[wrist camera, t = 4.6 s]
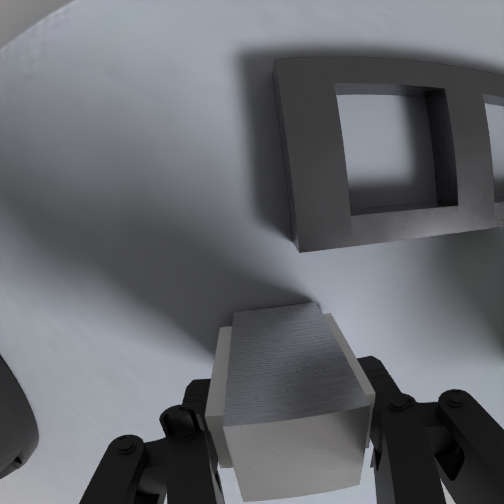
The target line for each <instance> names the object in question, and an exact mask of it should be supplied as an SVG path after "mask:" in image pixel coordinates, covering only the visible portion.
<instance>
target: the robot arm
mask: <svg viewBox="0 0 504 504" xmlns="http://www.w3.org/2000/svg"><path fill="white" fill-rule="evenodd" d="M323 316H324V318H325V319H326V321H327V323H328V325H329V327H330V329H331V330H332V332H333V334H334V336H335V338H336V340H337V342H338V344H339V345H340V347H341V349H342V351H343V353H344V355H345V357H346V359H347V361H348V362H349V364H350V366H351V368H352V370H353V372H354V374H355V376H356V378H357V380H358V382H359V384H360V385H361V387H362V389H363V391H364V393H365V395H366V397H367V399H368V401H369V403H370V415H369V423H368V431H367V439H366V446H365V448H369V443H370V439H371V441H372V443H373V446H374V449H373V454H372V460H371V466H370V468H371V467H373V465H374V475H375V486H376V497H377V504H446V501H445V496H444V492H443V488H442V484H441V481H442V482H443V484H444V485H445V487H446V489H447V490H448V492H449V493H450V495H451V496H452V498H453V500H454V502H455V503H456V504H504V429H503V428H502V427H501V426H500V425H499V424H498V423H497V422H496V421H495V420H494V419H493V418H492V417H491V416H490V415H489V414H488V413H487V412H486V410H485V409H484V408H483V407H482V406H481V405H480V404H479V403H478V402H477V401H476V400H475V399H474V398H473V397H472V396H471V395H470V394H469V393H467V392H466V391H463V390H458V389H452V390H448V391H446V392H444V393H442V394H441V396H440V397H439V400H438V402H429V403H418V402H416V401H415V399H414V398H413V397H411V396H410V395H407V394H403V393H401V391H400V390H399V388H398V387H397V385H396V384H395V382H394V380H393V379H392V377H391V376H390V375H389V373H388V371H387V370H386V369H385V367H384V365H383V364H382V362H381V361H380V360H378V359H377V358H375V357H373V356H368V357H363V358H358V359H356V357H355V355H354V353H353V351H352V350H351V348H350V346H349V344H348V343H347V341H346V339H345V337H344V336H343V334H342V332H341V330H340V329H339V327H338V325H337V323H336V322H335V320H334V318H333V316H332V315H331V313H330V314H323ZM231 332H232V326H229V327H220V331H219V337H218V342H217V348H216V354H215V359H214V365H213V371H212V377H211V379H199V380H193V381H192V382H191V383H190V384H189V385H188V386H187V387H186V391H185V395H184V396H185V397H184V398H183V403H182V405H176V406H172V407H170V408H168V409H166V410H165V411H164V412H163V413H162V414H161V416H160V419H159V420H160V423H161V425H162V428H163V431H164V433H165V436H166V437H165V438H163V439H159V440H156V441H151V442H146V443H144V442H143V440H142V439H141V438H140V437H138V436H135V435H123V436H120V437H118V438H116V439H114V440H113V441H112V442H111V443H110V445H109V446H108V448H107V450H106V452H105V454H104V456H103V458H102V460H101V461H100V463H99V465H98V467H97V469H96V471H95V473H94V475H93V477H92V479H91V481H90V483H89V485H88V487H87V489H86V491H85V493H84V495H83V497H82V499H81V501H80V503H79V504H164V500H165V497H166V493H167V504H225V501H224V496H223V491H222V486H221V481H220V476H219V474H218V471H217V466H218V462H219V465H220V468H231V467H233V463H232V459H231V456H230V452H229V448H228V445H227V441H226V437H225V433H224V429H223V419H224V408H225V396H226V385H227V374H228V363H229V353H230V342H231ZM38 440H39V434H38V428H37V424H36V420H35V417H34V415H33V412H32V410H31V407H30V405H29V403H28V401H27V399H26V397H25V395H24V393H23V391H22V390H21V388H20V386H19V384H18V383H17V381H16V379H15V378H14V376H13V375H12V373H11V372H10V370H9V369H8V367H7V366H6V364H5V363H4V361H3V360H2V359H1V357H0V479H2V478H3V477H5V476H7V475H8V474H10V473H12V472H13V471H15V470H16V469H19V468H20V467H22V466H23V465H24V464H25V463H26V462H27V461H28V459H29V458H30V456H31V455H32V453H33V452H34V450H35V449H36V447H37V445H38ZM440 479H441V480H440Z"/></svg>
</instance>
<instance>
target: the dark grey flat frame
mask: <svg viewBox="0 0 504 504" xmlns="http://www.w3.org/2000/svg"><path fill="white" fill-rule="evenodd" d="M272 76H273V83H274V90H275V97H276V103H277V110H278V118H279V125H280V132H281V140H282V148H283V155H284V163H285V172H286V180H287V188H288V197H289V206H290V215H291V224H292V234H293V243H294V245H295V247H296V248H297V250H298V251H299V253H302V252H310V251H318V250H326V249H334V248H342V247H350V246H358V245H366V244H374V243H382V242H390V241H398V240H406V239H414V238H421V237H429V236H437V235H445V234H452V233H460V232H468V231H475V230H483V229H490V228H498V227H504V197H502V198H494V182H493V167H492V156H491V146H490V138H489V130H488V123H487V117H486V111H485V105H484V103H487V104H494V105H500V106H504V76H500V75H496V74H492V73H487V72H482V71H478V70H473V69H468V68H462V67H456V66H450V65H444V64H437V63H430V62H421V61H412V60H402V59H390V58H373V57H299V58H282V59H275V61H274V66H273V72H272ZM348 94H376V95H407V96H424V97H425V99H426V105H427V111H428V117H429V123H430V130H431V138H432V146H433V154H434V164H435V175H436V189H437V202H432V203H420V204H408V205H397V206H386V207H375V208H365V209H355V210H350V202H349V191H348V181H347V171H346V162H345V154H344V146H343V138H342V131H341V124H340V117H339V110H338V104H337V98H336V95H348Z"/></svg>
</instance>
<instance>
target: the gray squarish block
mask: <svg viewBox="0 0 504 504" xmlns="http://www.w3.org/2000/svg"><path fill="white" fill-rule="evenodd" d="M369 415H370V403H369V401H368V399H367V397H366V395H365V393H364V391H363V389H362V387H361V385H360V384H359V382H358V380H357V378H356V376H355V374H354V372H353V370H352V368H351V366H350V364H349V362H348V361H347V359H346V357H345V355H344V353H343V351H342V349H341V347H340V345H339V344H338V342H337V340H336V338H335V336H334V334H333V332H332V330H331V329H330V327H329V325H328V323H327V321H326V319H325V318H324V316H323V314H322V312H321V310H320V308H319V306H318V305H317V303H316V302H310V303H303V304H296V305H288V306H281V307H273V308H265V309H256V310H248V311H239V312H233V321H232V332H231V342H230V353H229V363H228V374H227V385H226V396H225V408H224V419H223V429H224V433H225V437H226V441H227V445H228V448H229V452H230V456H231V459H232V463H233V467H234V470H235V474H236V477H237V481H238V484H239V488H240V491H241V495H242V498H243V501H244V502H249V501H263V500H273V499H283V498H291V497H298V496H305V495H311V494H317V493H323V492H328V491H333V490H338V489H343V488H348V487H352V486H356V485H359V483H360V478H361V472H362V466H363V460H364V453H365V446H366V439H367V431H368V423H369Z"/></svg>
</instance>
